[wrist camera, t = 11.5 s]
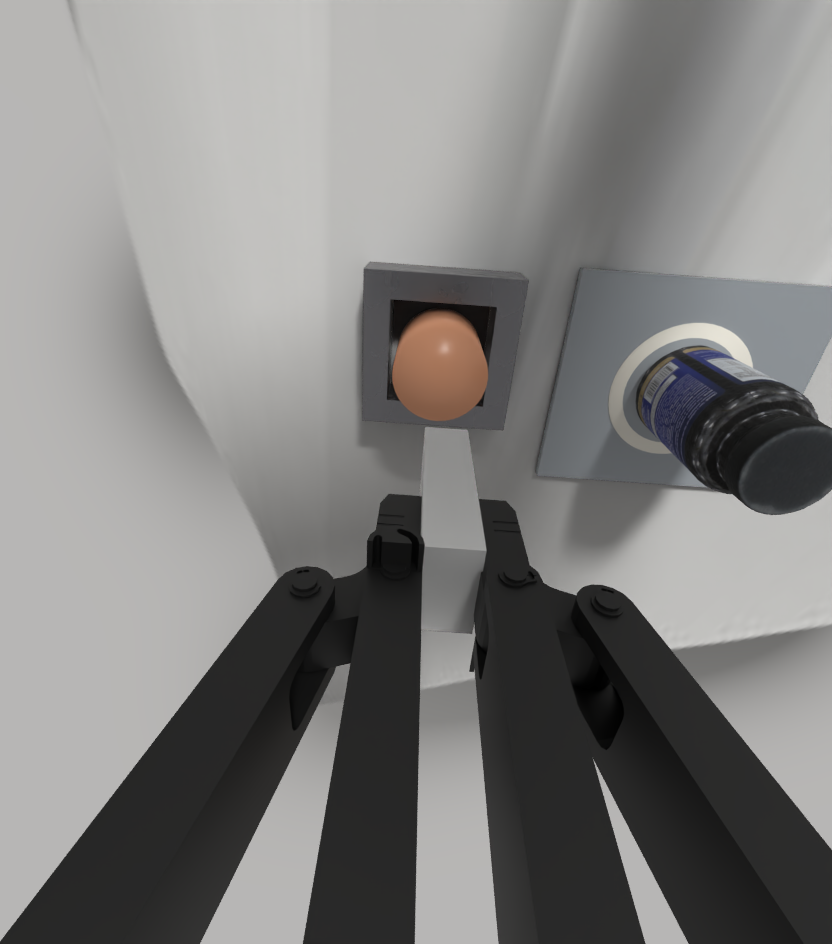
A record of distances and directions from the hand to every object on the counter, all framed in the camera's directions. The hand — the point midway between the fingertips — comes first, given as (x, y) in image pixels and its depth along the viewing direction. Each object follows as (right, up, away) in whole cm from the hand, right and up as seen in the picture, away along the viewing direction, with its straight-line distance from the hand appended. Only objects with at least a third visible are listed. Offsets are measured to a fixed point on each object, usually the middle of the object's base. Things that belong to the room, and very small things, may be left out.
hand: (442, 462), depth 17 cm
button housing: (0, +8, +14) cm, 16 cm away
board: (+16, +5, +15) cm, 23 cm away
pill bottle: (+16, +5, +14) cm, 22 cm away
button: (0, +7, +12) cm, 14 cm away
